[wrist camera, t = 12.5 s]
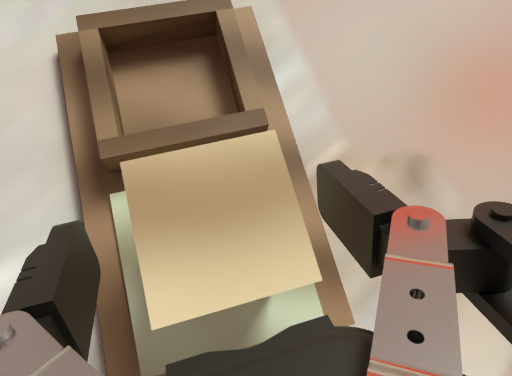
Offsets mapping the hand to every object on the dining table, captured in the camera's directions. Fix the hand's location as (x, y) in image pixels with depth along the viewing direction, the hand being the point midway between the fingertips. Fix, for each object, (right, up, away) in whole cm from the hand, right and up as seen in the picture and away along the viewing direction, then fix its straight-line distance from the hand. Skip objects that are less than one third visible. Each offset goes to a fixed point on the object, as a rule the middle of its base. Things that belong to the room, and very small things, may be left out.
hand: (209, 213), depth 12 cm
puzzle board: (-2, +2, +8) cm, 9 cm away
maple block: (0, -3, +6) cm, 7 cm away
